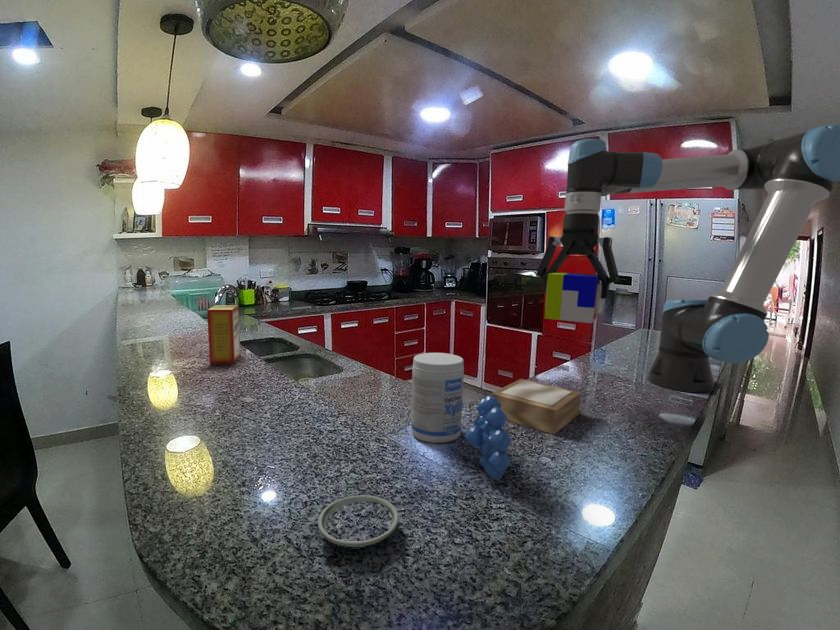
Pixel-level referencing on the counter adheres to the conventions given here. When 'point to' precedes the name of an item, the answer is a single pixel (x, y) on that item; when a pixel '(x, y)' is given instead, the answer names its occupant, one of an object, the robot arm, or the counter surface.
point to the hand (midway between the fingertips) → (572, 309)
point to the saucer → (350, 500)
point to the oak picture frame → (538, 405)
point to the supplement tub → (437, 397)
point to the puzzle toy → (571, 297)
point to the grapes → (490, 437)
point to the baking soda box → (223, 333)
